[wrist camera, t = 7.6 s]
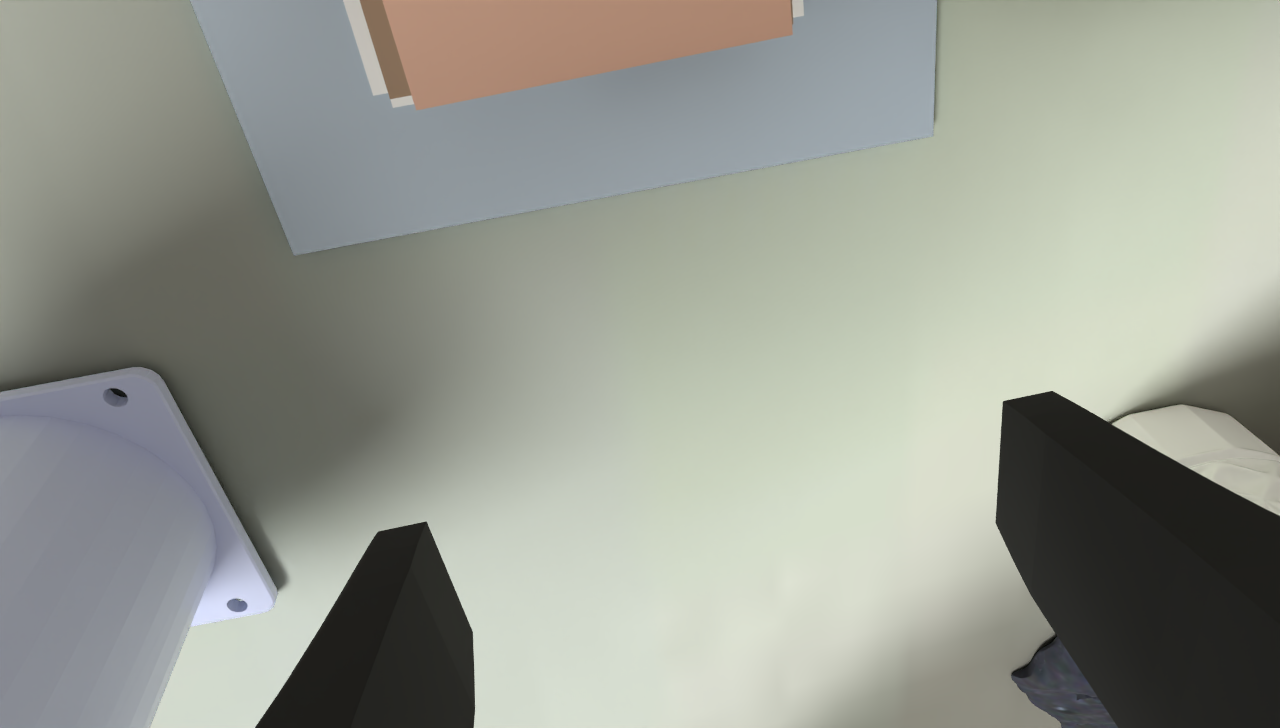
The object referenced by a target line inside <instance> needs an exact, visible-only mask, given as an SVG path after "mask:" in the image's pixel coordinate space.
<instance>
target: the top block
mask: <svg viewBox="0 0 1280 728" xmlns="http://www.w3.org/2000/svg"><path fill="white" fill-rule="evenodd" d="M382 1H383V5H384V8H385V11H386V14H387V18H388V21H389V24H390V27H391V31H392V34H393V37H394V40H395V43H396V47H397V50H398V53H399V56H400V60H401V63H402V66H403V69H404V73H405V76H406V79H407V82H408V86H409V89H410V92H411V95H412V98H413V102H414V105H415V108H416V111H417V110H422V109H426V108H431V107H436V106H441V105H446V104H451V103H456V102H461V101H466V100H471V99H476V98H481V97H486V96H491V95H496V94H501V93H506V92H511V91H516V90H521V89H526V88H531V87H536V86H541V85H546V84H551V83H556V82H561V81H566V80H571V79H576V78H581V77H586V76H591V75H596V74H601V73H606V72H611V71H616V70H621V69H626V68H631V67H636V66H641V65H646V64H651V63H655V62H660V61H665V60H670V59H675V58H680V57H685V56H690V55H695V54H700V53H705V52H710V51H715V50H720V49H725V48H730V47H735V46H740V45H745V44H750V43H755V42H760V41H765V40H770V39H775V38H780V37H785V36H790V35H793V30H792V16H791V1H790V0H382Z"/></svg>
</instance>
